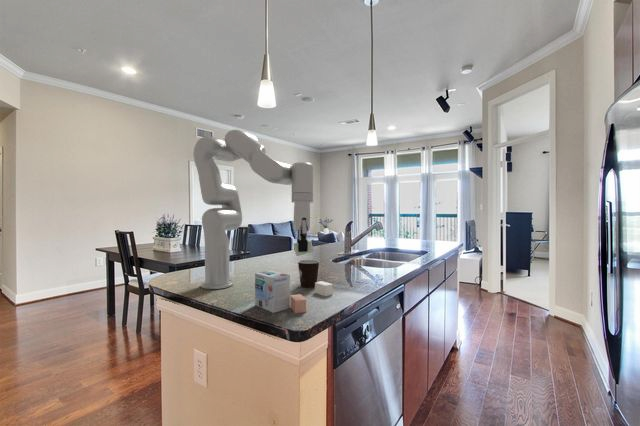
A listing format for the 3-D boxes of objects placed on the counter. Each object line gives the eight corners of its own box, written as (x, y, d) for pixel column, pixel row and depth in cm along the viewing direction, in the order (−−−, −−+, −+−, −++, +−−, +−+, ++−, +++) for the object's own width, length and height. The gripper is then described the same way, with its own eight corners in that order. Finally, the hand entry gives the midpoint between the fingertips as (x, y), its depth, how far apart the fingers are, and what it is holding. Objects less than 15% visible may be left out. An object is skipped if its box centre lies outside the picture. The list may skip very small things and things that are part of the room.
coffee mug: (318, 288, 121) (318, 263, 121) (297, 288, 121) (297, 263, 121) (319, 281, 132) (319, 258, 132) (299, 281, 133) (299, 258, 132)
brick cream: (315, 293, 116) (314, 282, 116) (321, 291, 118) (322, 281, 118) (325, 296, 111) (325, 285, 111) (332, 294, 113) (332, 284, 113)
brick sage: (296, 256, 106) (294, 245, 106) (295, 254, 109) (293, 243, 109) (313, 251, 107) (310, 240, 107) (311, 250, 110) (309, 239, 110)
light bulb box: (254, 305, 101) (254, 272, 101) (271, 300, 106) (271, 269, 106) (273, 313, 94) (273, 278, 93) (290, 308, 98) (290, 274, 98)
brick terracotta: (290, 307, 99) (290, 295, 99) (300, 306, 100) (300, 294, 100) (295, 313, 94) (295, 300, 93) (306, 312, 95) (306, 299, 95)
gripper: (289, 198, 115) (289, 247, 115) (293, 197, 99) (293, 254, 99) (309, 198, 116) (309, 247, 117) (316, 197, 100) (316, 254, 100)
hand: (302, 250), depth 108 cm, fingers closed on brick sage, 3 cm apart
